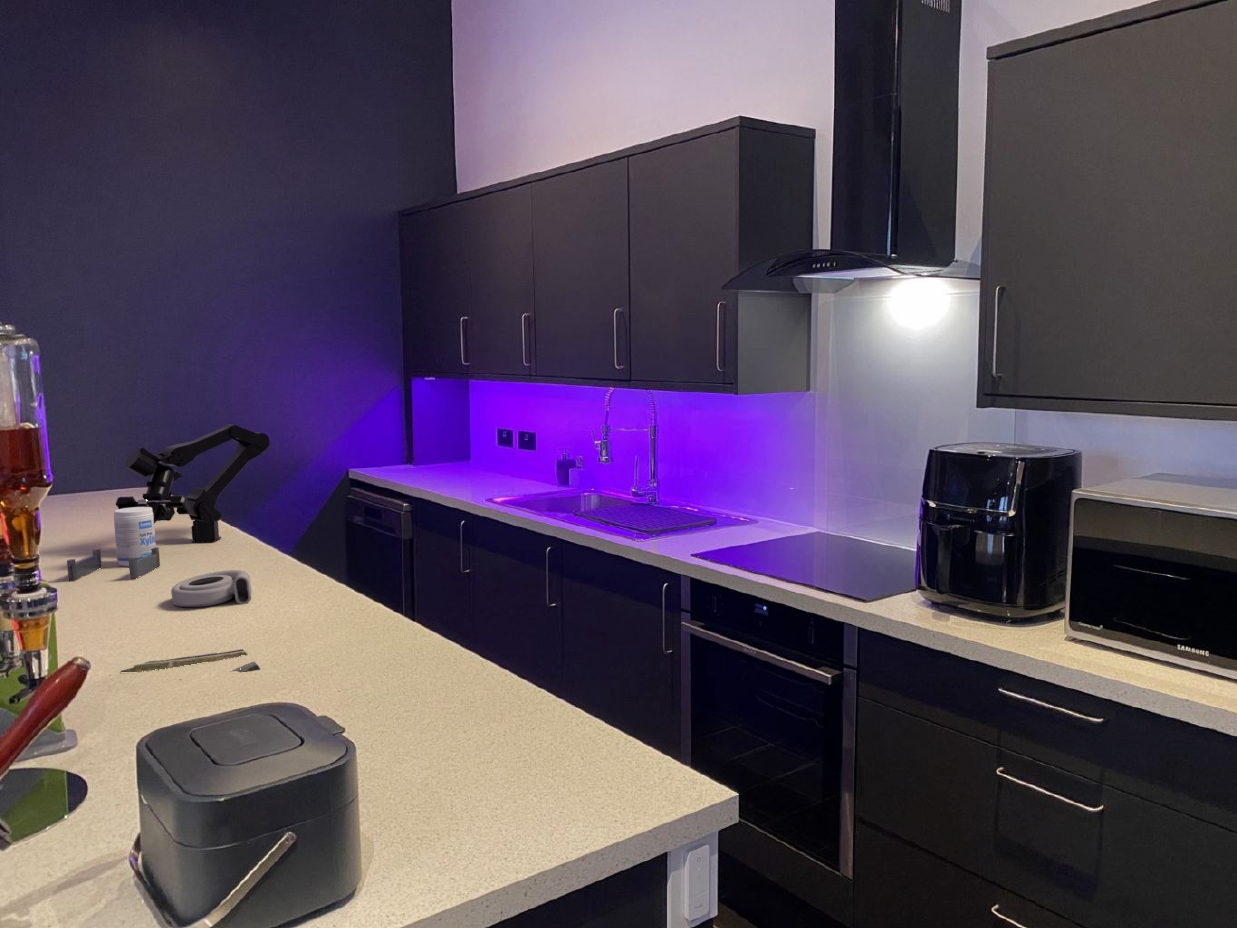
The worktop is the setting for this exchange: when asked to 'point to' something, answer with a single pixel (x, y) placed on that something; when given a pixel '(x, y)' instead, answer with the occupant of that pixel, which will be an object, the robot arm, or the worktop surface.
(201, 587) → the turbocharger housing
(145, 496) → the robot arm
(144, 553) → the supplement tub
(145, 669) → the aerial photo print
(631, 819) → the worktop surface
